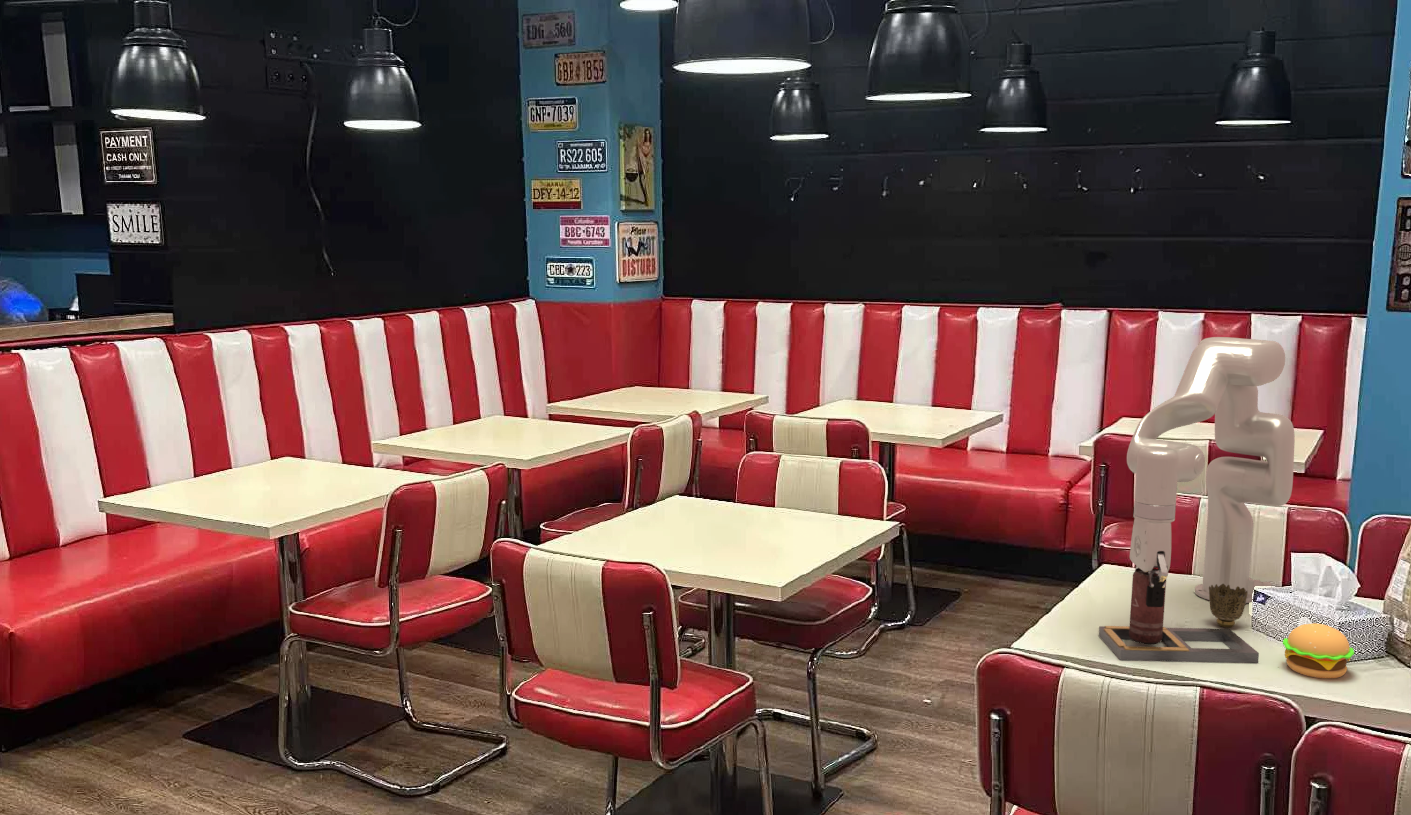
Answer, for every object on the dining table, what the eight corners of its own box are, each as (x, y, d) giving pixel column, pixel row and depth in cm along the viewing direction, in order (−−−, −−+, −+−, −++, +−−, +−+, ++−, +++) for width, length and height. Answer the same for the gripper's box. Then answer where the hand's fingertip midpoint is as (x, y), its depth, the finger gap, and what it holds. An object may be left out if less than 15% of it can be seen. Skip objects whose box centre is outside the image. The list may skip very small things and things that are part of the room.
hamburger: (1268, 667, 229) (1272, 623, 228) (1300, 654, 237) (1303, 611, 235) (1333, 687, 220) (1337, 641, 219) (1363, 672, 227) (1368, 628, 226)
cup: (1250, 625, 253) (1253, 588, 252) (1237, 634, 248) (1240, 596, 247) (1214, 617, 258) (1216, 581, 257) (1200, 625, 253) (1203, 588, 252)
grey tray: (1228, 638, 245) (1229, 627, 245) (1258, 663, 231) (1258, 652, 231) (1098, 635, 246) (1099, 625, 246) (1120, 660, 232) (1120, 649, 232)
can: (1145, 647, 235) (1150, 577, 232) (1122, 637, 240) (1126, 568, 238) (1169, 643, 237) (1174, 573, 235) (1146, 633, 243) (1150, 565, 241)
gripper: (1120, 500, 243) (1115, 587, 246) (1149, 521, 226) (1143, 614, 229) (1158, 501, 243) (1152, 588, 246) (1190, 522, 226) (1183, 615, 229)
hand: (1148, 600), depth 237 cm, fingers closed on can, 6 cm apart
